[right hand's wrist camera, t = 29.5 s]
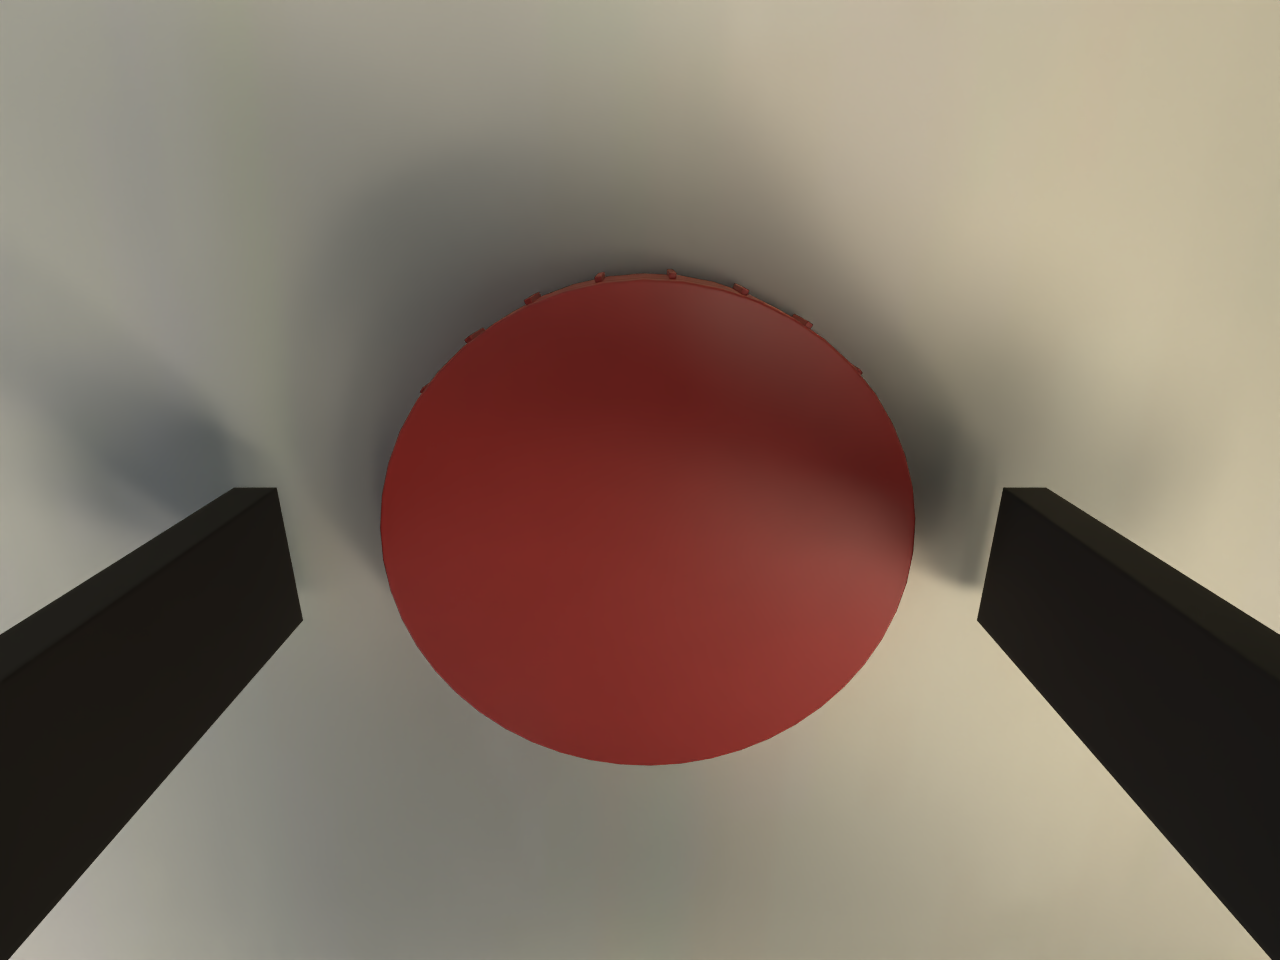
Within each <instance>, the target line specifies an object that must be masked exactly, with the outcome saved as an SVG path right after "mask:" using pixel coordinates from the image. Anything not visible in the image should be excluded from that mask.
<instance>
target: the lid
mask: <svg viewBox="0 0 1280 960" xmlns="http://www.w3.org/2000/svg"><path fill="white" fill-rule="evenodd" d="M748 293H749V290H748V289H746V288H744V287H742V286H741V285H738V284H736V283H734V286H733V288H730V287H727V286H724V285H721V284H718V283H715V282H712V281H707V280H702V279H696V278H691V277H686V276H681V275H676V272H675V271H674V270H672V269H667V274H647V273H641V274H629V275H618V276H607V277H605V273H604V272H602V273H598V274H597V275H596V276H595V279H594V280H590V281H585V282H581V283H576V284H573V285H570V286H567V287H565V288H562V289H559V290H557V291H554V292H551V293H549V294H546V295H543V296H541V295H540V293H539V292H538V293H536V294H534V295H532V296H530V297H529V298H527V299H525V300H524V302H525V304H526V305H524V306H523V307H521V308H519V309H517V310H515V311H513V312H512V313H510V314H508V315H507V316H505V317H504V318H502V319H501V320H499V321H497V322H496V323H494V324H493V325H492V326H490V327H489V328H488V329H486V330H485V329H484V328H481V329H480V330H478V331H477V332H475V333H473V334H472V335H470V336H468V337H467V338H466V339H465V342H466V343H467V344H466V345H465V346H463V347H462V348H461V349H460V350H459V351H458V352H457V353H456V354H455V355H454V356H453V357H452V358H451V359H450V360H449V361H448V362H447V363H446V364H445V365H444V366H443V367H442V368H441V369H440V370H439V371H438V372H437V374H436V375H435V376H434V378H433V379H432V380H431V382H430V383H428V384H427V385H426V386H424V387H423V388H422V389H421V391H420V393H422V394H421V395H420V397H419V398H418V399H417V401H416V402H415V404H414V406H413V408H412V410H411V412H410V413H409V415H408V417H407V419H406V421H405V423H404V425H403V426H402V428H401V430H400V432H399V435H398V438H397V441H396V443H395V446H394V449H393V452H392V454H391V457H390V460H389V463H388V468H387V473H386V477H385V482H384V487H383V492H382V503H381V522H380V530H381V541H382V552H383V561H384V565H385V569H386V573H387V577H388V582H389V586H390V590H391V593H392V595H393V598H394V600H395V603H396V605H397V608H398V611H399V613H400V616H401V618H402V620H403V622H404V624H405V626H406V627H407V629H408V631H409V633H410V635H411V636H412V638H413V640H414V642H415V644H416V645H417V647H418V648H419V650H420V651H421V652H422V654H423V655H424V656H425V658H426V659H427V660H428V662H429V663H430V664H431V666H432V667H433V669H434V670H435V671H436V672H437V673H438V674H439V675H440V676H441V677H442V678H443V679H444V681H445V682H446V683H447V684H448V685H449V686H450V687H451V688H452V689H453V690H454V691H455V692H456V693H457V694H458V695H460V696H461V697H462V698H463V699H464V700H466V701H467V702H468V703H469V704H470V705H472V706H473V707H474V708H475V709H476V710H478V711H479V712H480V713H482V714H483V715H485V716H486V717H488V718H490V719H491V720H493V721H494V722H496V723H497V724H499V725H500V726H502V727H503V728H505V729H507V730H509V731H511V732H513V733H515V734H517V735H519V736H521V737H523V738H525V739H527V740H529V741H531V742H533V743H536V744H539V745H542V746H544V747H547V748H550V749H552V750H555V751H558V752H560V753H564V754H568V755H572V756H576V757H580V758H584V759H588V760H594V761H601V762H608V763H615V764H625V765H666V764H681V763H687V762H693V761H699V760H705V759H710V758H714V757H718V756H721V755H725V754H729V753H732V752H736V751H739V750H742V749H745V748H747V747H750V746H752V745H755V744H757V743H760V742H762V741H765V740H767V739H769V738H771V737H773V736H775V735H777V734H779V733H781V732H783V731H784V730H786V729H788V728H790V727H792V726H794V725H796V724H797V723H799V722H800V721H802V720H803V719H804V718H806V717H807V716H809V715H810V714H812V713H813V712H815V711H816V710H818V709H819V708H820V707H822V706H823V705H824V704H825V703H826V702H827V701H829V700H830V699H831V698H832V697H833V696H834V695H835V694H837V693H838V692H839V691H840V690H841V689H842V688H843V687H845V685H846V684H847V683H848V682H849V681H850V680H851V679H852V678H853V677H854V675H855V674H856V673H857V672H858V671H859V670H860V669H861V668H862V667H863V665H864V664H865V663H866V661H867V660H868V659H869V657H870V656H871V654H872V653H873V651H874V650H875V648H876V647H877V646H878V644H879V643H880V641H881V640H882V638H883V636H884V634H885V632H886V631H887V629H888V627H889V625H890V623H891V621H892V619H893V617H894V615H895V613H896V611H897V608H898V605H899V603H900V600H901V597H902V594H903V592H904V589H905V586H906V583H907V579H908V574H909V569H910V565H911V560H912V555H913V547H914V531H915V510H914V498H913V486H912V482H911V478H910V474H909V469H908V465H907V461H906V457H905V453H904V451H903V448H902V446H901V443H900V441H899V438H898V436H897V433H896V431H895V428H894V426H893V423H892V421H891V420H890V418H889V416H888V415H887V413H886V411H885V409H884V408H883V406H882V404H881V403H880V401H879V399H878V397H877V396H876V394H875V392H874V391H873V390H872V389H871V387H870V386H869V385H868V384H867V382H866V381H865V380H864V379H863V377H862V376H861V374H862V371H861V370H860V369H859V368H857V367H856V366H854V365H853V364H851V363H850V362H849V361H848V360H847V359H846V358H844V357H843V356H842V355H841V354H840V353H839V352H838V351H837V350H836V349H835V348H834V347H833V346H832V345H830V344H829V343H828V342H827V341H826V340H825V339H824V338H822V337H821V336H819V335H818V334H816V333H815V332H813V331H812V330H811V327H812V326H813V324H811V323H810V322H809V321H807V320H805V319H803V318H801V317H799V316H798V315H796V314H793V316H792V317H791V316H789V315H788V314H786V313H784V312H782V311H781V310H779V309H777V308H775V307H773V306H771V305H769V304H767V303H765V302H763V301H761V300H759V299H757V298H755V297H753V296H751V295H749V294H748Z"/></svg>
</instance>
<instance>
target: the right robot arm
mask: <svg viewBox="0 0 1280 960" xmlns="http://www.w3.org/2000/svg"><path fill="white" fill-rule="evenodd" d="M302 621H303V618H302V613H301V608H300V603H299V598H298V593H297V588H296V583H295V578H294V573H293V568H292V563H291V557H290V552H289V547H288V542H287V537H286V532H285V527H284V522H283V517H282V512H281V507H280V502H279V497H278V492H277V488H233V489H231V490H230V491H228V492H226V493H225V494H223V495H222V496H220V497H218V498H217V499H215V500H214V501H212V502H210V503H209V504H207V505H206V506H204V507H203V508H201V509H199V510H198V511H196V512H195V513H193V514H191V515H190V516H188V517H187V518H185V519H183V520H182V521H180V522H179V523H177V524H176V525H174V526H172V527H171V528H169V529H168V530H166V531H164V532H163V533H161V534H160V535H158V536H156V537H155V538H153V539H152V540H150V541H149V542H147V543H145V544H144V545H142V546H141V547H139V548H137V549H136V550H134V551H133V552H131V553H129V554H128V555H126V556H125V557H123V558H121V559H120V560H118V561H117V562H115V563H114V564H112V565H110V566H109V567H107V568H106V569H104V570H102V571H101V572H99V573H98V574H96V575H94V576H93V577H91V578H90V579H88V580H87V581H85V582H83V583H82V584H80V585H79V586H77V587H75V588H74V589H72V590H71V591H69V592H67V593H66V594H64V595H63V596H61V597H60V598H58V599H56V600H55V601H53V602H52V603H50V604H48V605H47V606H45V607H44V608H42V609H40V610H39V611H37V612H36V613H34V614H32V615H31V616H29V617H28V618H26V619H25V620H23V621H21V622H20V623H18V624H17V625H15V626H13V627H12V628H10V629H9V630H7V631H5V632H4V633H2V634H1V635H0V960H8V959H9V958H10V957H11V956H12V955H13V954H14V952H15V951H16V950H17V949H18V948H19V947H20V946H21V944H22V943H23V942H24V941H25V940H26V939H27V938H28V936H29V935H30V934H31V933H32V932H33V931H34V929H35V928H36V927H37V926H38V925H39V924H40V923H41V921H42V920H43V919H44V918H45V917H46V916H47V914H48V913H49V912H50V911H51V910H52V909H53V908H54V906H55V905H56V904H57V903H58V902H59V901H60V900H61V898H62V897H63V896H64V895H65V894H66V893H67V891H68V890H69V889H70V888H71V887H72V886H73V885H74V883H75V882H76V881H77V880H78V879H79V878H80V876H81V875H82V874H83V873H84V872H85V871H86V870H87V868H88V867H89V866H90V865H91V864H92V863H93V862H94V860H95V859H96V858H97V857H98V856H99V855H100V853H101V852H102V851H103V850H104V849H105V848H106V847H107V845H108V844H109V843H110V842H111V841H112V840H113V838H114V837H115V836H116V835H117V834H118V833H119V832H120V830H121V829H122V828H123V827H124V826H125V825H126V824H127V822H128V821H129V820H130V819H131V818H132V817H133V815H134V814H135V813H136V812H137V811H138V810H139V809H140V807H141V806H142V805H143V804H144V803H145V802H146V800H147V799H148V798H149V797H150V796H151V795H152V794H153V792H154V791H155V790H156V789H157V788H158V787H159V786H160V784H161V783H162V782H163V781H164V780H165V779H166V777H167V776H168V775H169V774H170V773H171V772H172V771H173V769H174V768H175V767H176V766H177V765H178V764H179V762H180V761H181V760H182V759H183V758H184V757H185V756H186V754H187V753H188V752H189V751H190V750H191V749H192V748H193V746H194V745H195V744H196V743H197V742H198V741H199V739H200V738H201V737H202V736H203V735H204V734H205V733H206V731H207V730H208V729H209V728H210V727H211V726H212V725H213V723H214V722H215V721H216V720H217V719H218V718H219V716H220V715H221V714H222V713H223V712H224V711H225V710H226V708H227V707H228V706H229V705H230V704H231V703H232V701H233V700H234V699H235V698H236V697H237V696H238V695H239V693H240V692H241V691H242V690H243V689H244V688H245V687H246V685H247V684H248V683H249V682H250V681H251V680H252V678H253V677H254V676H255V675H256V674H257V673H258V672H259V670H260V669H261V668H262V667H263V666H264V665H265V663H266V662H267V661H268V660H269V659H270V658H271V657H272V655H273V654H274V653H275V652H276V651H277V650H278V649H279V647H280V646H281V645H282V644H283V643H284V642H285V640H286V639H287V638H288V637H289V636H290V635H291V634H292V632H293V631H294V630H295V629H296V628H297V627H298V625H299V624H300V623H301V622H302ZM977 621H978V622H979V623H980V624H981V625H982V627H983V628H984V629H985V630H986V631H987V632H988V634H989V635H990V636H991V637H992V638H993V639H994V640H995V642H996V643H997V644H998V645H999V646H1000V647H1001V649H1002V650H1003V651H1004V652H1005V653H1006V654H1007V655H1008V657H1009V658H1010V659H1011V660H1012V661H1013V662H1014V663H1015V665H1016V666H1017V667H1018V668H1019V669H1020V670H1021V672H1022V673H1023V674H1024V675H1025V676H1026V677H1027V678H1028V680H1029V681H1030V682H1031V683H1032V684H1033V685H1034V687H1035V688H1036V689H1037V690H1038V691H1039V692H1040V693H1041V695H1042V696H1043V697H1044V698H1045V699H1046V700H1047V701H1048V703H1049V704H1050V705H1051V706H1052V707H1053V708H1054V710H1055V711H1056V712H1057V713H1058V714H1059V715H1060V716H1061V718H1062V719H1063V720H1064V721H1065V722H1066V723H1067V725H1068V726H1069V727H1070V728H1071V729H1072V730H1073V731H1074V733H1075V734H1076V735H1077V736H1078V737H1079V738H1080V739H1081V741H1082V742H1083V743H1084V744H1085V745H1086V746H1087V748H1088V749H1089V750H1090V751H1091V752H1092V753H1093V754H1094V756H1095V757H1096V758H1097V759H1098V760H1099V761H1100V763H1101V764H1102V765H1103V766H1104V767H1105V768H1106V769H1107V771H1108V772H1109V773H1110V774H1111V775H1112V776H1113V777H1114V779H1115V780H1116V781H1117V782H1118V783H1119V784H1120V786H1121V787H1122V788H1123V789H1124V790H1125V791H1126V792H1127V794H1128V795H1129V796H1130V797H1131V798H1132V799H1133V801H1134V802H1135V803H1136V804H1137V805H1138V806H1139V807H1140V809H1141V810H1142V811H1143V812H1144V813H1145V814H1146V815H1147V817H1148V818H1149V819H1150V820H1151V821H1152V822H1153V824H1154V825H1155V826H1156V827H1157V828H1158V829H1159V830H1160V832H1161V833H1162V834H1163V835H1164V836H1165V837H1166V839H1167V840H1168V841H1169V842H1170V843H1171V844H1172V845H1173V847H1174V848H1175V849H1176V850H1177V851H1178V852H1179V853H1180V855H1181V856H1182V857H1183V858H1184V859H1185V860H1186V862H1187V863H1188V864H1189V865H1190V866H1191V867H1192V868H1193V870H1194V871H1195V872H1196V873H1197V874H1198V875H1199V877H1200V878H1201V879H1202V880H1203V881H1204V882H1205V883H1206V885H1207V886H1208V887H1209V888H1210V889H1211V890H1212V891H1213V893H1214V894H1215V895H1216V896H1217V897H1218V898H1219V900H1220V901H1221V902H1222V903H1223V904H1224V905H1225V906H1226V908H1227V909H1228V910H1229V911H1230V912H1231V913H1232V915H1233V916H1234V917H1235V918H1236V919H1237V920H1238V921H1239V923H1240V924H1241V925H1242V926H1243V927H1244V928H1245V929H1246V931H1247V932H1248V933H1249V934H1250V935H1251V936H1252V938H1253V939H1254V940H1255V941H1256V942H1257V943H1258V944H1259V946H1260V947H1261V948H1262V949H1263V950H1264V951H1265V953H1266V954H1267V955H1268V956H1269V957H1270V958H1271V959H1272V960H1280V634H1278V633H1276V632H1275V631H1273V630H1271V629H1270V628H1268V627H1267V626H1265V625H1263V624H1262V623H1260V622H1259V621H1257V620H1255V619H1254V618H1252V617H1251V616H1249V615H1247V614H1246V613H1244V612H1243V611H1241V610H1240V609H1238V608H1236V607H1235V606H1233V605H1232V604H1230V603H1228V602H1227V601H1225V600H1224V599H1222V598H1220V597H1219V596H1217V595H1216V594H1214V593H1213V592H1211V591H1209V590H1208V589H1206V588H1205V587H1203V586H1201V585H1200V584H1198V583H1197V582H1195V581H1193V580H1192V579H1190V578H1189V577H1187V576H1186V575H1184V574H1182V573H1181V572H1179V571H1178V570H1176V569H1174V568H1173V567H1171V566H1170V565H1168V564H1166V563H1165V562H1163V561H1162V560H1160V559H1158V558H1157V557H1155V556H1154V555H1152V554H1151V553H1149V552H1147V551H1146V550H1144V549H1143V548H1141V547H1139V546H1138V545H1136V544H1135V543H1133V542H1131V541H1130V540H1128V539H1127V538H1125V537H1124V536H1122V535H1120V534H1119V533H1117V532H1116V531H1114V530H1112V529H1111V528H1109V527H1108V526H1106V525H1104V524H1103V523H1101V522H1100V521H1098V520H1097V519H1095V518H1093V517H1092V516H1090V515H1089V514H1087V513H1085V512H1084V511H1082V510H1081V509H1079V508H1077V507H1076V506H1074V505H1073V504H1071V503H1070V502H1068V501H1066V500H1065V499H1063V498H1062V497H1060V496H1058V495H1057V494H1055V493H1054V492H1052V491H1050V490H1049V489H1047V488H1003V492H1002V497H1001V502H1000V507H999V512H998V517H997V522H996V527H995V532H994V537H993V542H992V547H991V552H990V557H989V562H988V568H987V573H986V578H985V583H984V588H983V593H982V598H981V603H980V608H979V613H978V618H977Z"/></svg>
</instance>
